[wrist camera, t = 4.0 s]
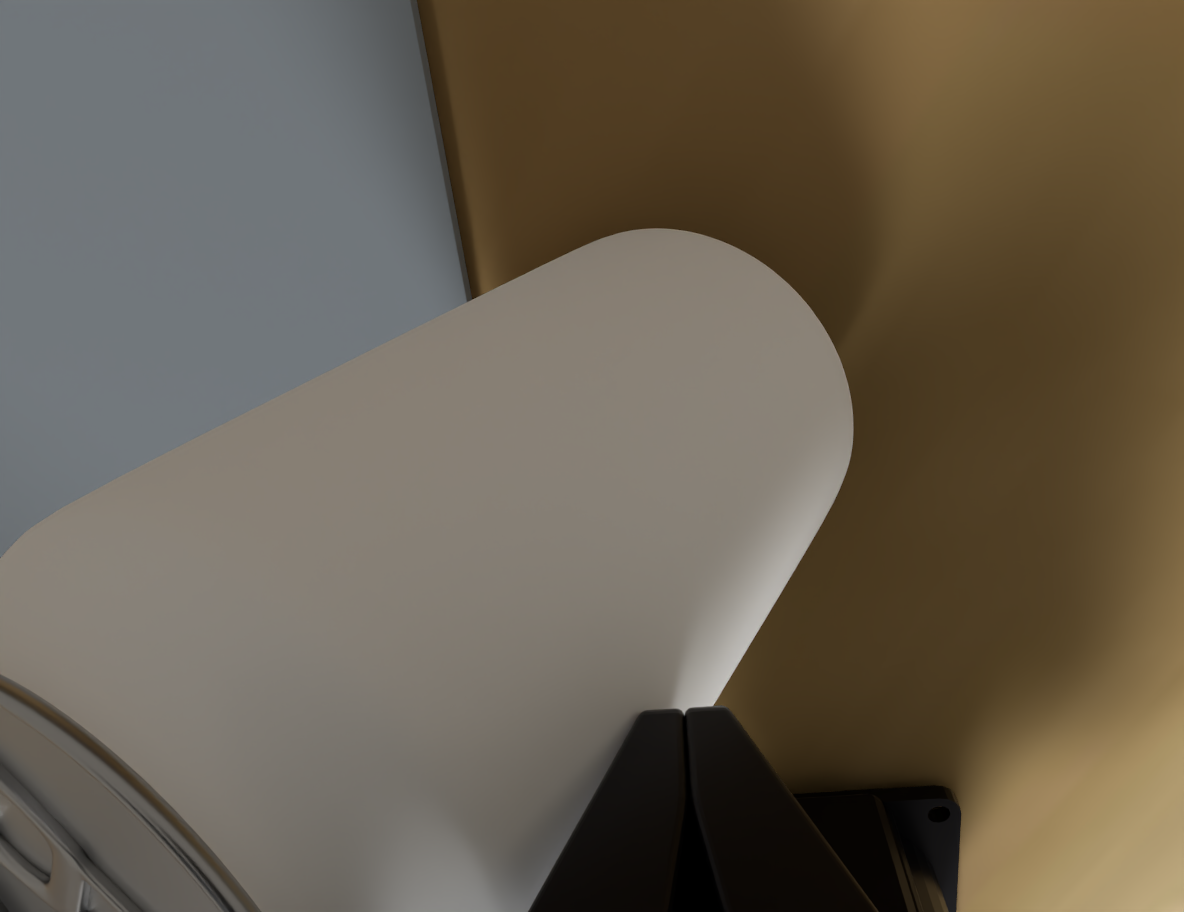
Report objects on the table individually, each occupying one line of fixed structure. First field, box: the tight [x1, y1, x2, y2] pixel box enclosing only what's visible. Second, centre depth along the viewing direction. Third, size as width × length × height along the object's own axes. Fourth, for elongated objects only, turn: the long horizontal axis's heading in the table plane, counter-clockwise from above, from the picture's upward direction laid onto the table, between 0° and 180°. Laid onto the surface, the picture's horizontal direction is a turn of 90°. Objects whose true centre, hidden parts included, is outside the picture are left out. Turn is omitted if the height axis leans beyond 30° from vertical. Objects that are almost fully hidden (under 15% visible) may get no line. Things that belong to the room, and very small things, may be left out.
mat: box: [0, 0, 472, 558], centre depth 19 cm, size 16×14×1 cm
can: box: [0, 228, 854, 912], centre depth 12 cm, size 6×6×12 cm
